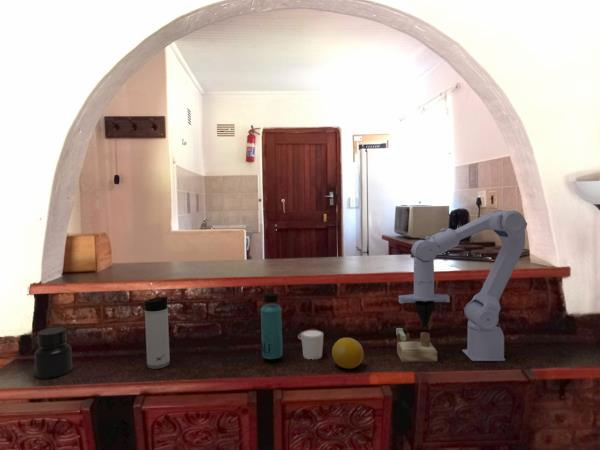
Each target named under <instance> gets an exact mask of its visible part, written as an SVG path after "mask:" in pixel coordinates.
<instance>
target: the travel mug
mask: <svg viewBox="0 0 600 450" xmlns="http://www.w3.org/2000/svg"><path fill="white" fill-rule="evenodd" d="M168 300H169V298H168V296H159V297H154V298H153V297H152V298H149V299H148V300H145V301H144V323H145V326H144V328H145V346H146V349H145V350H146V366H147V368H148V369H152V370H157V369H162V368H165V367H167V366H168V365H170V362H171V360H170V359H171V358H170V357H171V356H170V336H169V335H170V334H169V310H168V308H169V307H168Z"/></svg>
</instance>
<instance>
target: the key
mask: <svg viewBox="0 0 600 450" xmlns="http://www.w3.org/2000/svg"><path fill="white" fill-rule="evenodd" d="M395 332H396V333H395V334H396V336H397V333H400V341H401V342H406V334H405V332H404V328H403V327H400V328H399V327H397V328H395Z"/></svg>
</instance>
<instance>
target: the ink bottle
mask: <svg viewBox="0 0 600 450" xmlns="http://www.w3.org/2000/svg"><path fill="white" fill-rule="evenodd" d="M67 336H68V335H67V328H66V327H60V326H58V327H55V326H54V327H49V328H46V329H45V328H44V329H42V330H40V331H38V332H37V341H38V343H37V344H38V349H36V350H35V353H34V365H35V366H34V368H35V376H36V378H39V379H51V378H57V377H62V376H64V375H67V374H68V373H69V372H70V371H72V369H73V351H72V346H71V345H70V344H69V343H67V341H68V339H67Z"/></svg>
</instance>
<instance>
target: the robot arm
mask: <svg viewBox="0 0 600 450" xmlns="http://www.w3.org/2000/svg"><path fill="white" fill-rule="evenodd" d="M527 226H528V223H527V220H526V219H525V217H524V215H523V214H522V213H521V212H519V211H517V210H501V209H497V210H494V211H492V212H488V213H485V214H483V215H481V216H480V217H478V218H476V219H473V220H472V221H469V222H468V223H466V224H463V225H461V226H460V227H458V228H455V229H453V228H444V227H442V228H441V229H439V232H437V233H435V234H433V235H427V236H425V237H424V238H425V239H419V240H416V241H415V242H414V244H412V247H411V249H410V253H411V255H412V256H413V293H412V294H411V293H410V294H403V295H398V303H399V304H405V303H406V304H407V303H412V304H413V306H414V308H415V310H416V313H417V314H418V318H419V322H420V323H419V324H420V326H421V327H422V328H428V327H429V326H428V325H429V321H430V317H431V316H432V313H433V311H434V310H435V308H436V303H450V301H451V299H450V295H448V294H446V293H445V294H444V293H441V294H440V293H435V265H434V263H435V261H434V260H435V259H436V257H437V255H438V256H439V255H441V254H443V253H445V252H447V251H449V250H451V249H453V248H456V247H458V246H459V243H460V241H462V240H464V239H466V238H469V237H471V236H474V235H476V234H478V233H481V232H483V231H486V230H489V231H493V232H494V233H495V234H496V235H497V236H498V238H499V240H500V241H501V248H500V249H499V252H498V254H497V256H496V258H495V260H494V262H493V264H492V266H491V268H490V270H489V273H488V274H487V277H486V279H485V280H484V283H483V285H482V288H481V289H480V291H479V292H478V293H476V294H475V295H473V297H472V299H471V300H470V301H469V302H467V304H466V305H465V307H464V310H463V311H464V312H463V313H464V316H465V317H466V318H467V320H468V321H467V345H466V346H467V348H465V349H462V352H463V353H464V355H466V356H467V357H468V358H469V360H471V361H472V362H503V361H504V362H505V361H506V359H505V335H504V331H503V329H502V328H501V327H500V326H498V323H499V320H500V319H499V315H500V311H501V309H502V308H501V304H500V298H501V297H502V295H503V293H504V290H505V288H506V286H507V284H508V282H509V281H510V280H509V279H510V278H511V276H512V273H513V272H514V270H515V268H516V265H517V263H518V261H519V259H520V257H521V255H522V253H523V252H524V249H525V247H526V228H527Z"/></svg>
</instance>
